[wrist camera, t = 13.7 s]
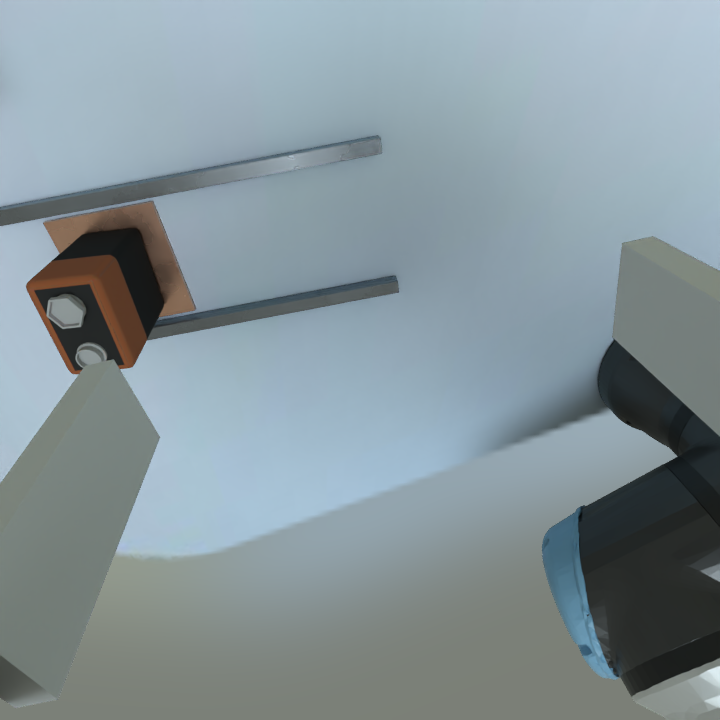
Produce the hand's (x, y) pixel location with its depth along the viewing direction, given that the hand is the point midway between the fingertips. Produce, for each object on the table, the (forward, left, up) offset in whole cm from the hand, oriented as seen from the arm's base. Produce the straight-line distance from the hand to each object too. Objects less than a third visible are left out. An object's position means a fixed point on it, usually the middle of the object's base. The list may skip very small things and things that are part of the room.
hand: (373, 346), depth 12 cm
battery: (-6, +17, -26) cm, 32 cm away
